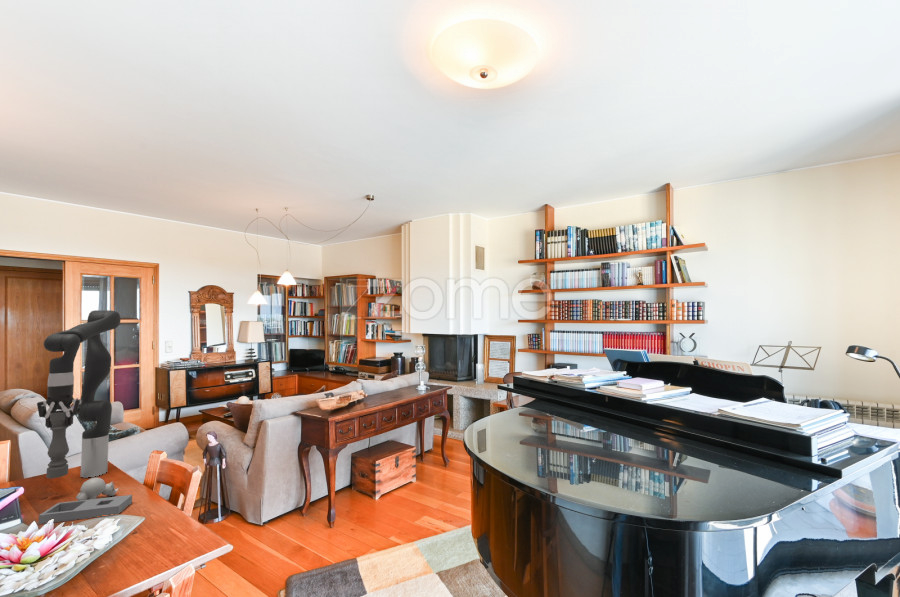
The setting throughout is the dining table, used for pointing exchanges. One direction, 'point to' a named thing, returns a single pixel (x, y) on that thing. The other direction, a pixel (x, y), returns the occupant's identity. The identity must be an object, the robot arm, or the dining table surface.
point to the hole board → (85, 509)
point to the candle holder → (58, 446)
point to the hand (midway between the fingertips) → (59, 426)
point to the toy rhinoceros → (95, 489)
